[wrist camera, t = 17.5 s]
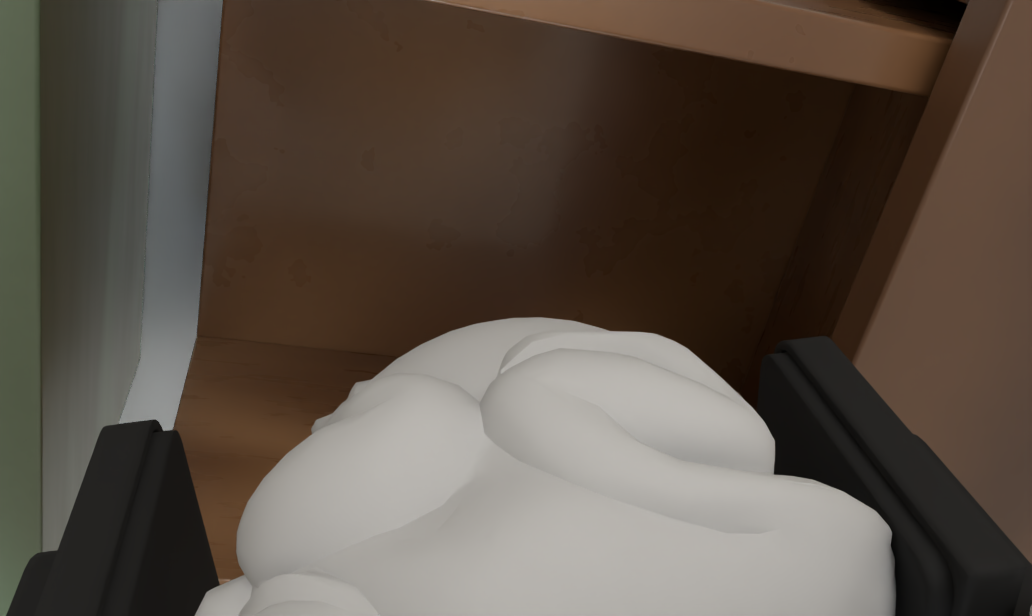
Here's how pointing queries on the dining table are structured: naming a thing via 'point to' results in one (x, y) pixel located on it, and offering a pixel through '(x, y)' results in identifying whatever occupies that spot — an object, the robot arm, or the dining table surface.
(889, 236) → the cabinet
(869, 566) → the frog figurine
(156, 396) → the dining table surface
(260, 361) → the drawer
